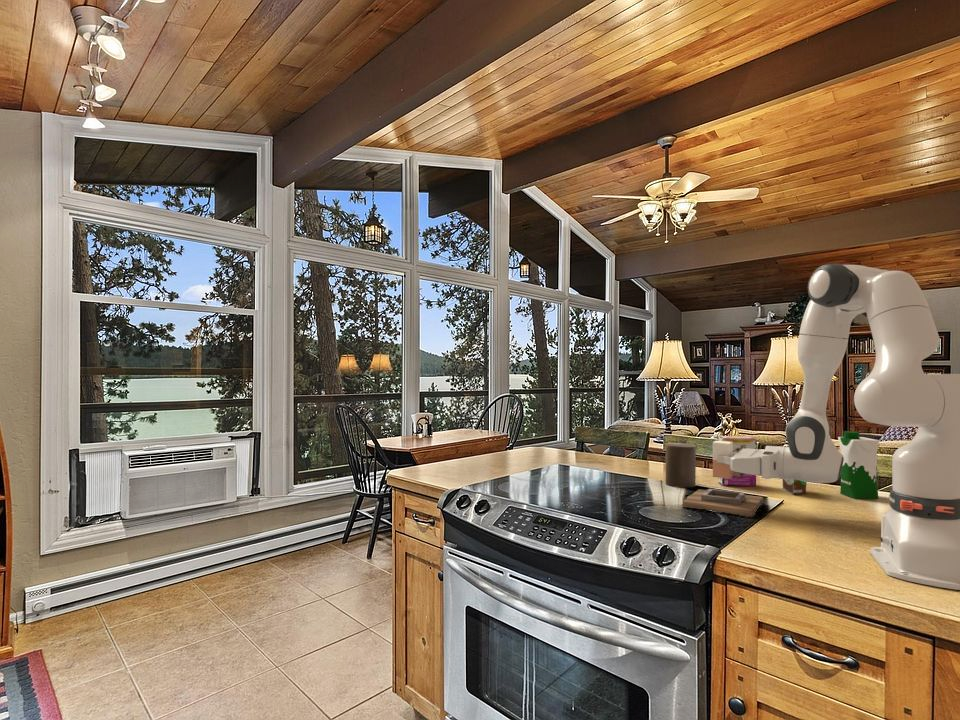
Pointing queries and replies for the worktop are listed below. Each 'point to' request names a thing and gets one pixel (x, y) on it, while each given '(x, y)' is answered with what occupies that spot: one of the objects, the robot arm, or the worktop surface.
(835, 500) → the worktop surface
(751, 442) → the candy bar box
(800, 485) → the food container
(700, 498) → the walnut plate
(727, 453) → the block stack
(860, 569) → the worktop surface
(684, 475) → the pillar candle
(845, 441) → the milk carton
